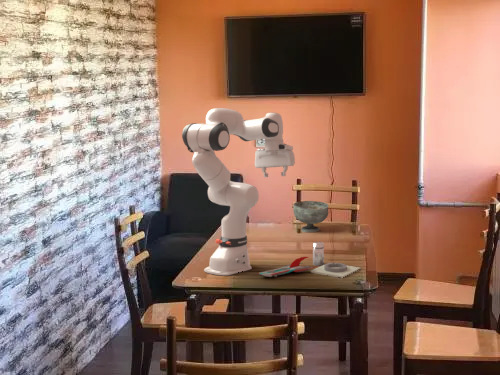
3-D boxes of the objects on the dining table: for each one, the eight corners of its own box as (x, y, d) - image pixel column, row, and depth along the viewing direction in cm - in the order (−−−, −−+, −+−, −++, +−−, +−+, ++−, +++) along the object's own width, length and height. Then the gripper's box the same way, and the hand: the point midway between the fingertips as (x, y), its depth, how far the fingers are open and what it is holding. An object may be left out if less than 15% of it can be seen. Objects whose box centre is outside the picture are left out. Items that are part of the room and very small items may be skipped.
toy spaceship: (270, 285, 305) (268, 273, 304) (253, 281, 314) (251, 269, 313) (317, 268, 322) (315, 256, 321) (300, 264, 331) (298, 253, 330)
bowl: (319, 236, 386) (319, 208, 384) (287, 232, 396) (287, 205, 394) (335, 228, 403) (335, 202, 400) (304, 225, 413) (304, 199, 410)
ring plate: (342, 278, 310) (342, 273, 310) (310, 272, 320) (310, 267, 319) (360, 269, 323) (360, 264, 322) (329, 264, 332) (329, 259, 332)
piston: (320, 266, 329) (320, 245, 327) (310, 264, 332) (310, 243, 330) (326, 263, 333) (326, 242, 331) (316, 262, 336) (316, 241, 334)
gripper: (251, 148, 346) (252, 177, 345) (289, 145, 335) (290, 175, 335) (258, 149, 351) (259, 178, 351) (296, 146, 341) (296, 175, 340)
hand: (274, 176), depth 342 cm, fingers open, 8 cm apart
